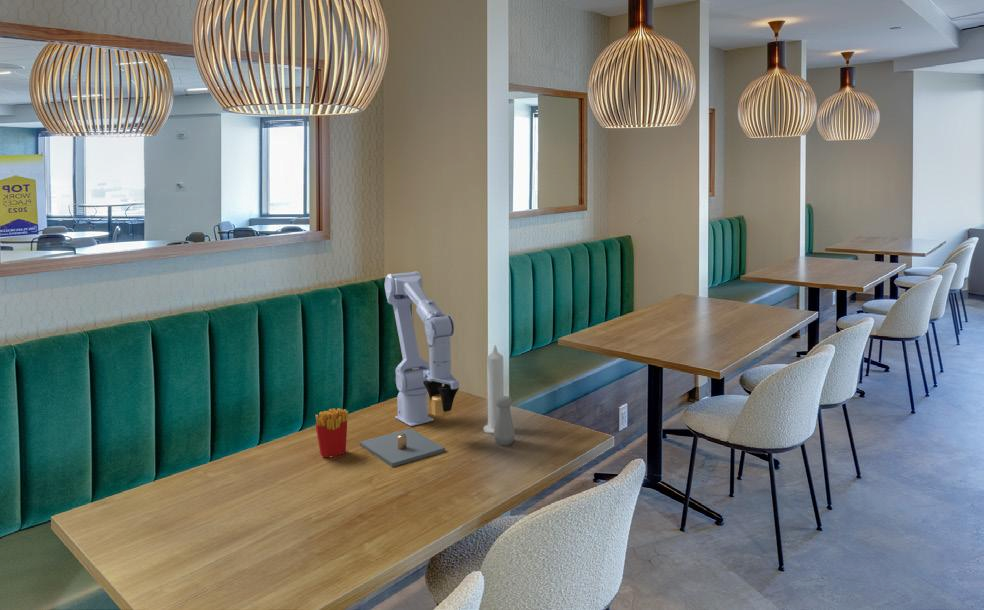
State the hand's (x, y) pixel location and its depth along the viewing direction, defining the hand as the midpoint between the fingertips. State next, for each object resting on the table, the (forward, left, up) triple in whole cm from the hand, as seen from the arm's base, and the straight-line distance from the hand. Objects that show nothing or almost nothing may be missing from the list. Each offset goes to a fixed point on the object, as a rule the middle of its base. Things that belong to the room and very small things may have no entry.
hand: (441, 407), depth 203 cm
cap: (0, 0, -1) cm, 1 cm away
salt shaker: (+12, +12, -10) cm, 20 cm away
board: (-2, -12, -9) cm, 15 cm away
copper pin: (0, -13, -9) cm, 16 cm away
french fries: (-10, -28, -10) cm, 31 cm away
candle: (+3, +16, -10) cm, 19 cm away
